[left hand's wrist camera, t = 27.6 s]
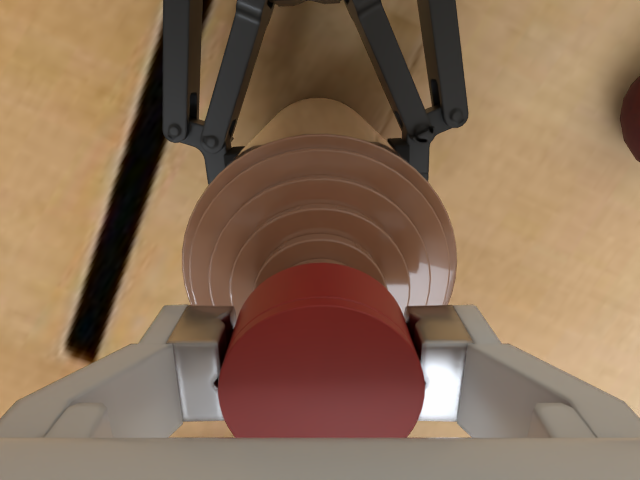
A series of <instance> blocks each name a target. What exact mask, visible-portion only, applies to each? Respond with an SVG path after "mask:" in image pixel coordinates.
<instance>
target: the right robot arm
mask: <svg viewBox="0 0 640 480" xmlns="http://www.w3.org/2000/svg"><path fill="white" fill-rule="evenodd" d="M305 1H308V0H237V4H236V14H235V18H234V21H233V25H232V28H231V32H230V35H229V39H228V42H227V46H226V49H225V53H224V56H223V60H222V63H221V67H220V70H219V74H218V77H217V81H216V84H215V88H214V91H213V95H212V98H211V102H210V105H209V109H208V112H207V116H206V119H205V121H202V120H199V94H200V62H201V31H202V0H163V134H164V136H165V137H166V139H168V140H169V141H170V142H174V143H179V142H180V143H184V144H187V145H190V146H193V147H196V148H197V149H199V150H200V151H201V152H202V154H203V156H204V159H205V165H206V172H207V179H208V184H210V183H211V182H212V181H213V180H214V179H215V178H216V177H217V175H218V174H219V173H220V172H221V171H222V170H223V169H224V168H225V167H226V166H227V165H228V164H229V163H230V162H231V161H232V160H233V159H234V158H235V157H236V156H237V155H238V154H239V153H240V152H241V151H242V150H243V148H244V147H245V146H241V147H232V148H231V142H232V140H233V137H232V136H233V133H234V130H235V127H236V123H237V120H238V117H239V114H240V111H241V107H242V104H243V101H244V98H245V94H246V91H247V88H248V85H249V81H250V78H251V75H252V72H253V69H254V65H255V62H256V59H257V56H258V52H259V49H260V46H261V43H262V39H263V36H264V33H265V30H266V27H267V25H268V23H269V21H270V18H271V15H272V12H273V8H274V5H275V4H277V5H278V6H279V7H281V6H294V5H297V4H300V3H302V2H305ZM310 1H314V2H319V3H323V4H332V3H340V1H341V0H310ZM344 2H345V5H346V7H347V9H348V12H349V14H350V16H351V18H352V20H353V21H354V23H355V25H356V27H357V30H358V32H359V34H360V37H361V39H362V41H363V43H364V46H365V48H366V50H367V53H368V55H369V57H370V59H371V62H372V64H373V66H374V69H375V71H376V73H377V76H378V78H379V80H380V82H381V85H382V87H383V89H384V92H385V94H386V96H387V98H388V101H389V103H390V105H391V108H392V110H393V112H394V115H395V117H396V119H397V121H398V124H399V126H400V128H401V131H402V139H401V138H392V139H388V143H389V144H390V145H391V146H392V147H393V148H394V149H395V150H396V151H397V152H398V153H399V154H400V155H401V156H402V157H404V158H405V159H406V160H407V161H408V162H409V163H410V164H411V165H412V166H413V167H414V168H415V169H416V170H417V171H418V172H419V173H420V174H421V175H422V176H423V177H424V178H425V179H426V180H427V181H428V172H429V147H430V143H431V141H432V140H433V139H434V137H435V136H436V135H437V134H439V133H441V132H444V131H446V130H448V129H451V128H458V127H460V126H462V125H463V124H464V123H466V121H467V119H468V106H467V97H466V88H465V79H464V71H463V62H462V53H461V45H460V36H459V27H458V19H457V10H456V1H455V0H417V3H418V10H419V17H420V24H421V32H422V39H423V46H424V53H425V60H426V67H427V74H428V81H429V88H430V95H431V102H432V107H430V108H428V109H424V106H423V104H422V101H421V99H420V96H419V94H418V92H417V89H416V87H415V84H414V82H413V79H412V77H411V75H410V72H409V70H408V67H407V65H406V62H405V60H404V58H403V55H402V53H401V50H400V48H399V45H398V43H397V40H396V38H395V36H394V33H393V31H392V28H391V26H390V23H389V21H388V19H387V16H386V14H385V11H384V9H383V6H382V3H381V0H344ZM208 186H209V185H208Z"/></svg>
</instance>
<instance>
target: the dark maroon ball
mask: <svg viewBox="0 0 640 480" xmlns="http://www.w3.org/2000/svg"><path fill="white" fill-rule="evenodd" d="M620 121H621V127H622V132H623V137H624V141H625V143H626V144H627V146H628V148H629V149H630V151H631V152H632V154H633V155H634V157H635V159H636V160H637V161H639V162H640V76H639V77H638V78H637V79H636V81H635V82H634V83H633V84H632V85H631V86H630V88H629V90H628V92H627V94H626V95H625V97H624V99H623V105H622V110H621V116H620Z"/></svg>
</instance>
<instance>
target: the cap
mask: <svg viewBox="0 0 640 480" xmlns="http://www.w3.org/2000/svg"><path fill="white" fill-rule="evenodd" d="M424 398H425V381H424V374H423V370H422V367H421V363H420V361H419V358H418V355H417V352H416V349H415V347H414V344H413V341H412V338H411V335H410V333H409V330H408V327H407V324H406V321H405V319H404V316H403V313H402V311H401V309H400V307H399V305H398V303H397V302H396V300H395V298H394V297H393V296H392V294H391V293H390V292H389V291H388V290H387V289H386V288H385V287H384V286H383V285H382V284H381V283H380V282H378V281H377V280H375V279H374V278H372V277H371V276H369V275H368V274H366V273H364V272H362V271H359V270H357V269H354V268H351V267H348V266H344V265H339V264H333V263H309V264H303V265H298V266H294V267H291V268H288V269H285V270H283V271H281V272H278V273H276V274H275V275H273V276H271V277H269V278H268V279H266V280H265V281H264V282H263V283H261V284H260V285H259V286H258V287H257V288H256V289H255V290H254V291H253V292H252V293H251V294H250V295H249V297H248V298H247V299H246V301H245V302H244V304H243V306H242V308H241V310H240V312H239V315H238V318H237V321H236V324H235V327H234V330H233V333H232V336H231V339H230V342H229V345H228V348H227V352H226V355H225V358H224V361H223V364H222V367H221V370H220V374H219V380H218V399H219V405H220V409H221V412H222V415H223V418H224V420H225V422H226V424H227V426H228V428H229V429H230V431H231V432H232V434H233V435H234V436H235V437H236V438H407V436H408V435H409V434H410V432H411V431H412V430H413V428H414V426H415V424H416V423H417V421H418V419H419V416H420V413H421V411H422V407H423V403H424Z"/></svg>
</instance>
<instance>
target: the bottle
mask: <svg viewBox="0 0 640 480" xmlns="http://www.w3.org/2000/svg"><path fill="white" fill-rule="evenodd" d="M309 263H333V264H339V265H344V266H348V267H351V268H354V269H357V270H359V271H362V272H364V273H366V274H368V275H369V276H371V277H372V278H374V279H375V280H377V281H378V282H380V283H381V284H382V285H383V286H384V287H385V288H386V289H387V290H388V291H389V292H390V293H391V294H392V296H393V297H394V298H395V300H396V302H397V303H398V305H399V307H400V309H401V311H402V313H403V316H404V311H405V307H407V306H429V305H448V302H449V300H450V297H451V295H452V291H453V287H454V282H455V278H456V267H457V252H456V242H455V237H454V232H453V227H452V225H451V222H450V219H449V216H448V213H447V211H446V209H445V207H444V205H443V204H442V202H441V200H440V198H439V196H438V195H437V193H436V192H435V191H434V189H433V188H432V187H431V185H430V184H429V183H428V181H427V180H426V179H425V178H424V177H423V176H422V175H421V174H420V173H419V172H418V171H417V170H416V169H415V168H414V167H413V166H412V165H411V164H410V163H409V162H408V161H407V160H406V159H405V158H404V157H402V156H401V155H400V154H399V153H398V152H397V151H396V150H395V149H394V148H393V147H392V146H391V145H390V144H389V143H388V142H387V141H386V140H385V139H384V138H383V137H382V136H381V135H380V134H379V133H378V132H377V131H376V130H375V129H374V128H373V127H372V126H371V125H370V124H369V123H367V122H366V121H365V120H364V119H363V118H362V117H361V116H360V115H359V114H358V113H357V112H356V111H355V110H353V109H352V108H351V107H349V106H347V105H345V104H344V103H341V102H339V101H336V100H332V99H328V98H309V99H303V100H300V101H297V102H295V103H293V104H290V105H289V106H287V107H285V108H284V109H282V110H281V111H280V112H279V113H278V114H277V115H276V116H275V117H274V118H273V119H272V120H271V121H270V122H269V123H268V124H267V125H266V126H265V127H264V128H263V129H262V130H261V131H260V132H259V133H258V134H257V135H256V136H255V137H254V138H253V139H252V140H251V141H250V142H249V143H248V144H247V145H246V146H245V147H244V148H243V150H242V151H241V152H240V153H239V154H238V155H237V156H236V157H235V158H234V159H233V160H232V161H231V162H230V163H229V164H228V165H227V166H226V167H225V168H224V169H223V170H222V171H221V172H220V173H219V174H218V175H217V177H216V178H215V179H214V180H213V181H212V182H211V183H210V184H209V186H208V187H207V188H206V190H205V191H204V193H203V194H202V196H201V197H200V199H199V200H198V202H197V204H196V206H195V208H194V210H193V212H192V214H191V216H190V219H189V222H188V225H187V229H186V232H185V236H184V242H183V249H182V271H183V278H184V285H185V288H186V291H187V295H188V298H189V301H190V304H191V305H213V306H234V308H235V310H236V319H237V318H238V315H239V312H240V310H241V308H242V306H243V304H244V302H245V301H246V299H247V298H248V297H249V295H250V294H251V293H252V292H253V291H254V290H255V289H256V288H257V287H258V286H259V285H260V284H261V283H263V282H264V281H265V280H266V279H268V278H269V277H271V276H273V275H275V274H276V273H278V272H281V271H283V270H285V269H288V268H291V267H294V266H298V265H303V264H309Z"/></svg>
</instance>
